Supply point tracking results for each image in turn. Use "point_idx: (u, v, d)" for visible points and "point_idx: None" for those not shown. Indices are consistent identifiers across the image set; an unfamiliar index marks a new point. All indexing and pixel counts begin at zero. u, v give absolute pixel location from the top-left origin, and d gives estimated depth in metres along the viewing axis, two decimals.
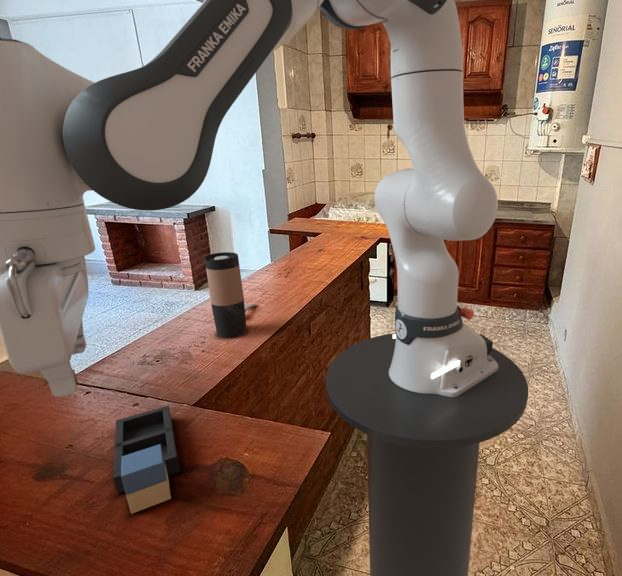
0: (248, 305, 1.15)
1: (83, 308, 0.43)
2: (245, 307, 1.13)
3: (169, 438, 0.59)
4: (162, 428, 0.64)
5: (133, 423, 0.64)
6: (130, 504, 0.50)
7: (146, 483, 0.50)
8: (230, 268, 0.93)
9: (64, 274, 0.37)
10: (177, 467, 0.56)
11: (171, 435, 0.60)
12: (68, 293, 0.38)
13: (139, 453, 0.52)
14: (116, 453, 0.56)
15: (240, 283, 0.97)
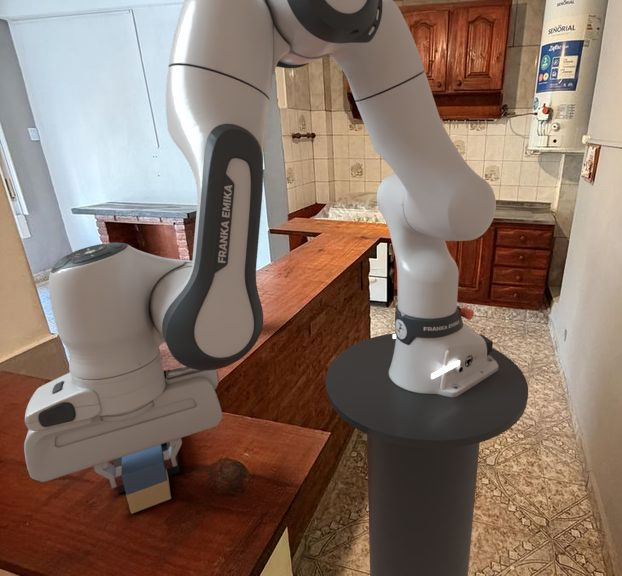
0: None
1: None
2: None
3: None
4: None
5: None
6: (130, 504, 0.50)
7: (146, 483, 0.50)
8: None
9: None
10: (177, 467, 0.56)
11: None
12: None
13: (139, 452, 0.52)
14: None
15: None
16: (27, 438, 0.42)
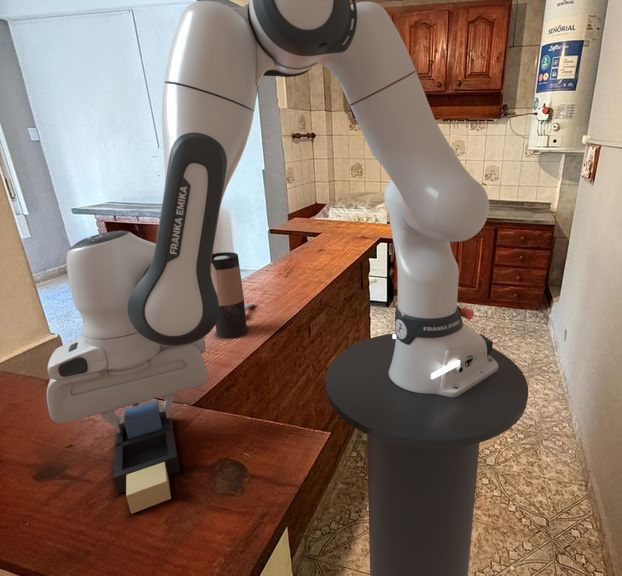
0: (247, 305, 1.15)
1: None
2: None
3: (169, 438, 0.59)
4: (162, 428, 0.64)
5: None
6: (130, 504, 0.50)
7: (145, 430, 0.61)
8: (230, 268, 0.93)
9: None
10: (177, 467, 0.56)
11: (171, 435, 0.60)
12: None
13: (139, 406, 0.62)
14: (116, 453, 0.56)
15: (240, 283, 0.97)
16: (49, 386, 0.52)
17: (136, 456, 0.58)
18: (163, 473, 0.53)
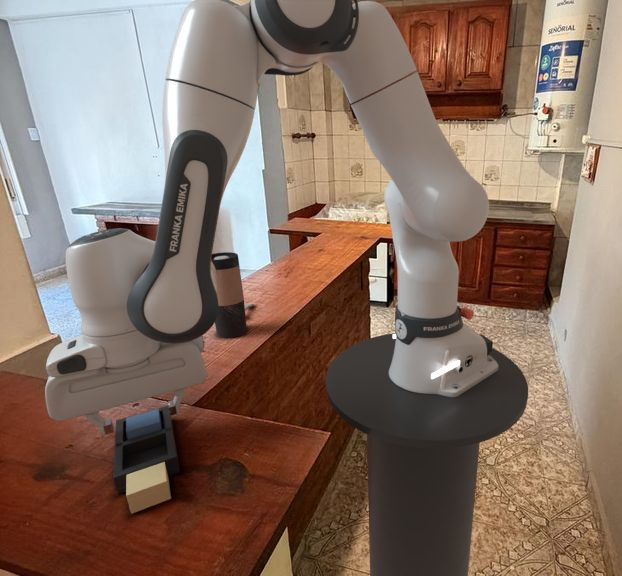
0: (246, 305, 1.15)
1: None
2: None
3: (169, 438, 0.59)
4: (162, 428, 0.64)
5: None
6: (130, 504, 0.50)
7: None
8: (230, 268, 0.93)
9: None
10: (177, 467, 0.56)
11: (171, 435, 0.60)
12: None
13: (140, 415, 0.63)
14: (116, 453, 0.56)
15: (240, 283, 0.97)
16: (47, 383, 0.52)
17: (136, 456, 0.58)
18: (163, 473, 0.53)
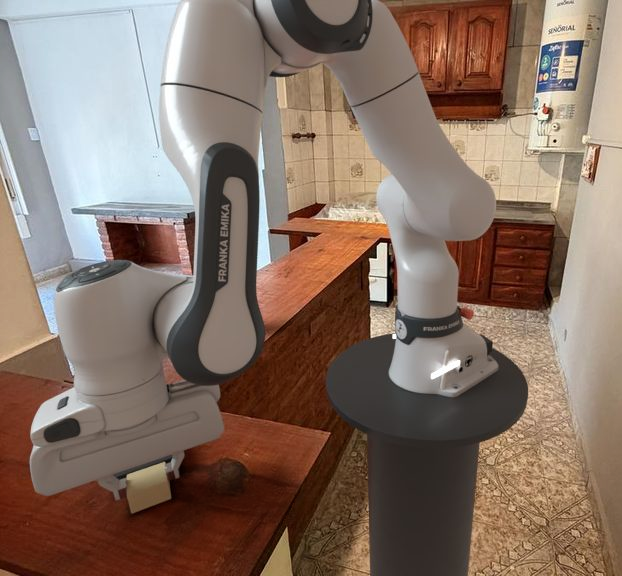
0: None
1: None
2: None
3: None
4: None
5: None
6: (130, 504, 0.50)
7: None
8: None
9: None
10: None
11: None
12: None
13: None
14: None
15: None
16: (33, 453, 0.42)
17: None
18: (164, 472, 0.53)
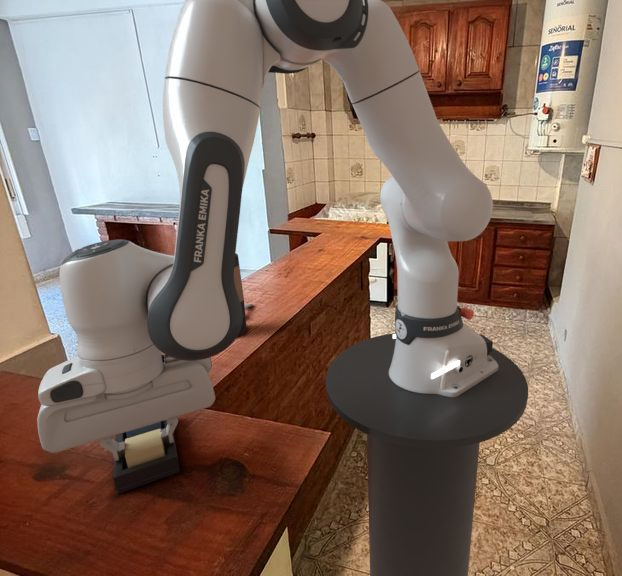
0: (245, 305, 1.15)
1: None
2: None
3: None
4: (162, 428, 0.64)
5: None
6: (128, 464, 0.54)
7: None
8: None
9: None
10: (177, 467, 0.56)
11: None
12: None
13: None
14: None
15: (240, 283, 0.97)
16: (40, 412, 0.47)
17: None
18: (159, 437, 0.57)
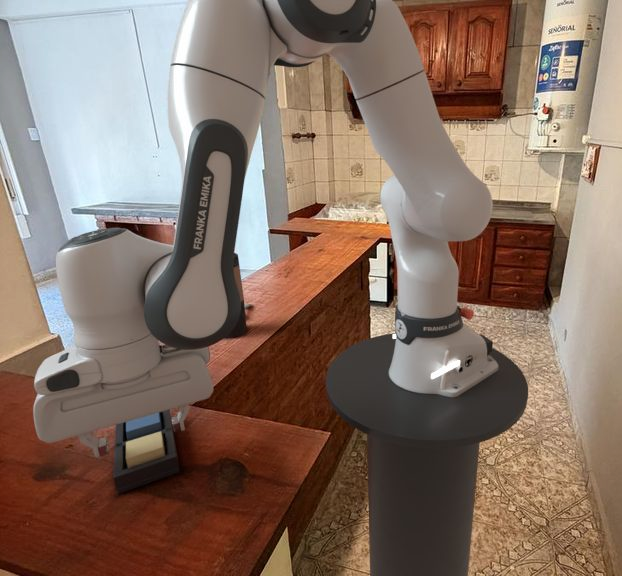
0: None
1: None
2: None
3: (169, 438, 0.59)
4: (162, 428, 0.64)
5: None
6: (129, 467, 0.54)
7: None
8: None
9: None
10: (177, 467, 0.56)
11: (171, 435, 0.60)
12: None
13: None
14: (116, 453, 0.56)
15: (240, 283, 0.97)
16: (36, 402, 0.47)
17: None
18: (160, 440, 0.57)
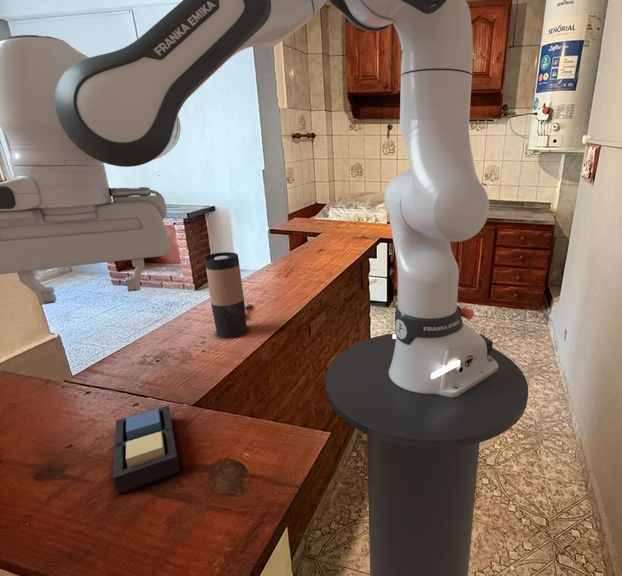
0: None
1: None
2: None
3: (169, 438, 0.59)
4: (162, 428, 0.64)
5: None
6: (129, 467, 0.54)
7: None
8: (230, 268, 0.93)
9: None
10: (177, 467, 0.56)
11: (171, 435, 0.60)
12: None
13: (140, 415, 0.63)
14: (116, 453, 0.56)
15: (240, 283, 0.97)
16: None
17: None
18: (160, 440, 0.57)
